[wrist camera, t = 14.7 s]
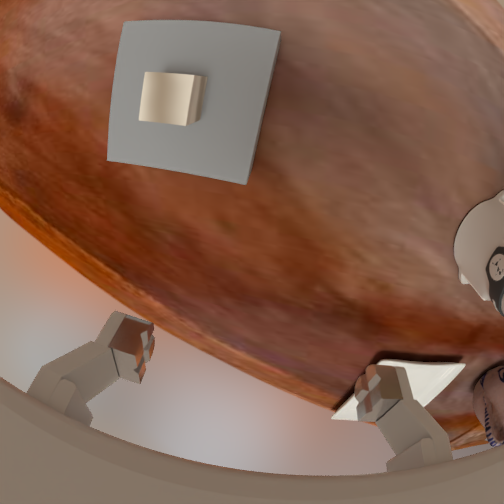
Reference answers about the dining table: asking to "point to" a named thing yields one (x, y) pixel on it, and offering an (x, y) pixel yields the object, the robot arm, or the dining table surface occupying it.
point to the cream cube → (172, 98)
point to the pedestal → (214, 103)
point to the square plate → (411, 383)
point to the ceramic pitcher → (491, 404)
